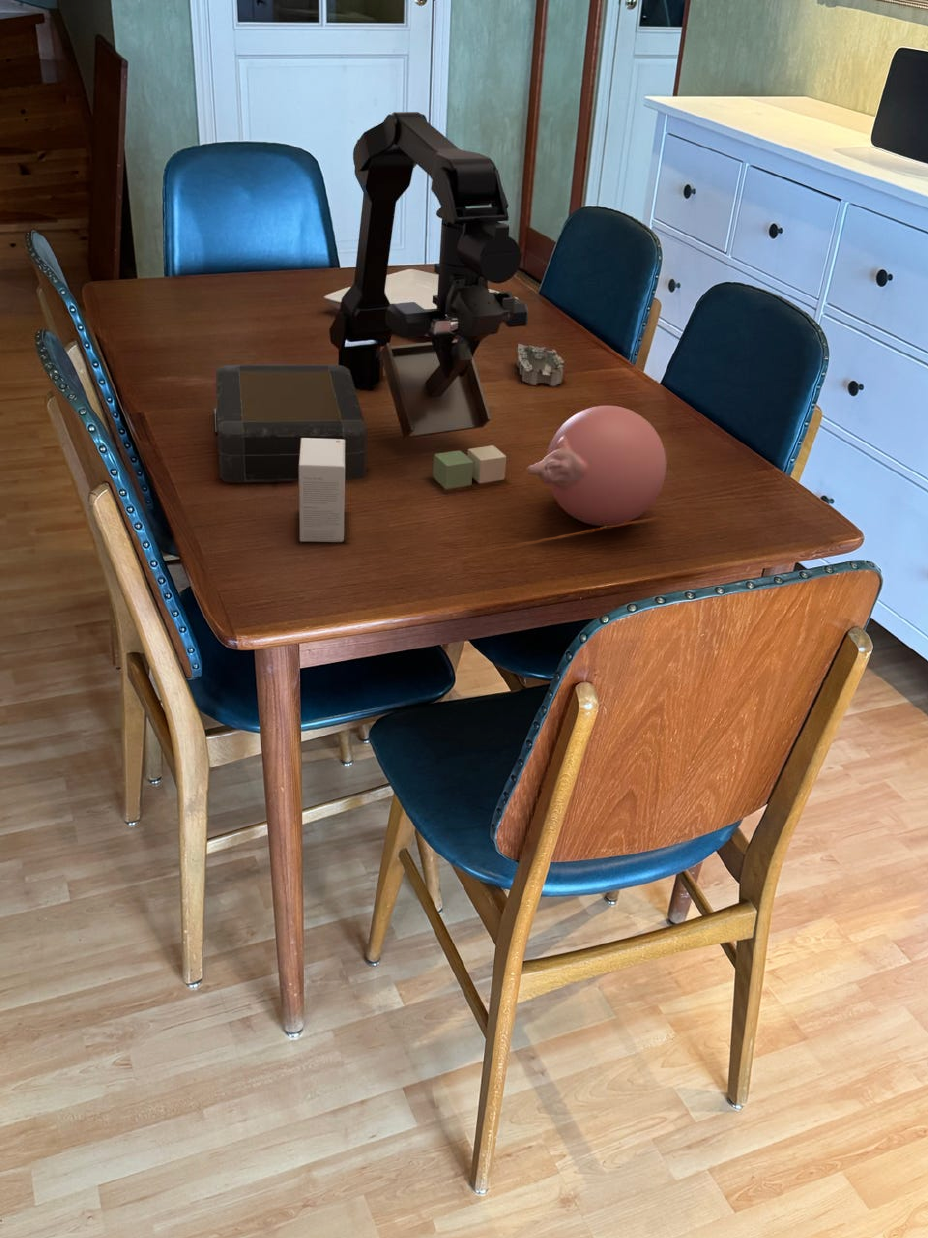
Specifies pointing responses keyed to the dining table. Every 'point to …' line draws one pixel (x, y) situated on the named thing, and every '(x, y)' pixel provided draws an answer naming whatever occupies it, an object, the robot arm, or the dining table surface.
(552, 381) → the grey castle model
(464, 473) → the sage block
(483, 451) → the cream block
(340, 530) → the small box
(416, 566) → the dining table surface
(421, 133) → the robot arm
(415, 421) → the brown tray with post
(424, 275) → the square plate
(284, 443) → the cash box
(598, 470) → the balloon
